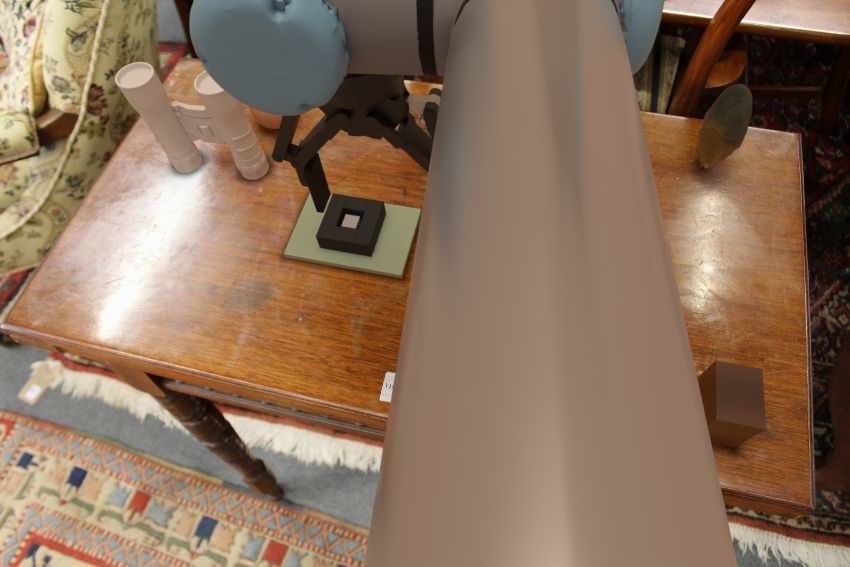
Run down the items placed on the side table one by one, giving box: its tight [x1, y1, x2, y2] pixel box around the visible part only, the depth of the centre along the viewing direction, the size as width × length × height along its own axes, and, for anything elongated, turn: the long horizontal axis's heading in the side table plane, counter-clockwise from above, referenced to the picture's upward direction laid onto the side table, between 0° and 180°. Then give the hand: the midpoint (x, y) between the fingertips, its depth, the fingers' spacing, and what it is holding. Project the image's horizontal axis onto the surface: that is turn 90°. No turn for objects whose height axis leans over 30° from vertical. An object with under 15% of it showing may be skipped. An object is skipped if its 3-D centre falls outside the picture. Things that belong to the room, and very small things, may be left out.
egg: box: [248, 106, 282, 130], centre depth 93 cm, size 7×7×8 cm
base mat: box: [283, 192, 422, 279], centre depth 83 cm, size 12×18×4 cm, turn 77°
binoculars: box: [114, 61, 270, 181], centre depth 85 cm, size 17×5×18 cm, turn 81°
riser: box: [697, 360, 767, 448], centre depth 64 cm, size 7×5×8 cm
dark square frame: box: [316, 193, 386, 257], centre depth 82 cm, size 8×8×3 cm
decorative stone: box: [695, 83, 753, 170], centre depth 80 cm, size 10×6×15 cm, turn 162°
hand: (383, 212), depth 61 cm, fingers open, 13 cm apart
